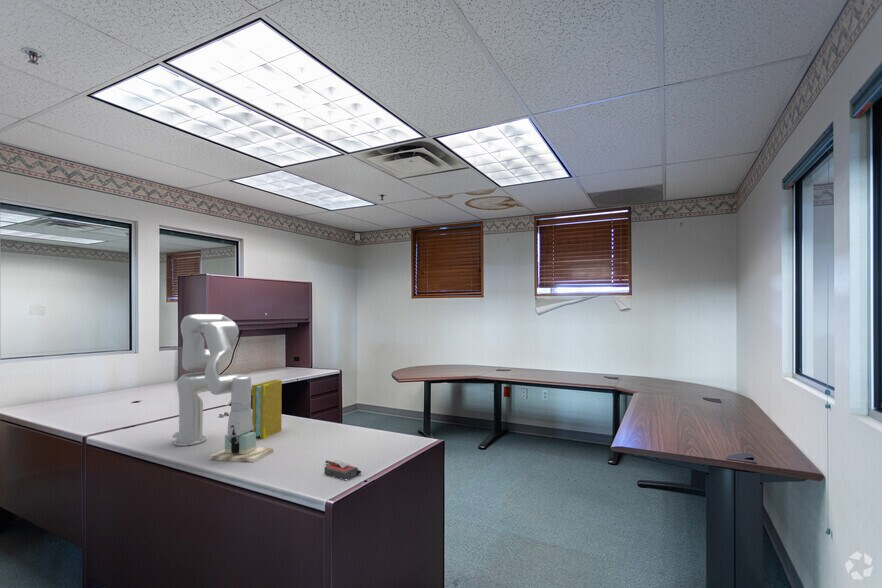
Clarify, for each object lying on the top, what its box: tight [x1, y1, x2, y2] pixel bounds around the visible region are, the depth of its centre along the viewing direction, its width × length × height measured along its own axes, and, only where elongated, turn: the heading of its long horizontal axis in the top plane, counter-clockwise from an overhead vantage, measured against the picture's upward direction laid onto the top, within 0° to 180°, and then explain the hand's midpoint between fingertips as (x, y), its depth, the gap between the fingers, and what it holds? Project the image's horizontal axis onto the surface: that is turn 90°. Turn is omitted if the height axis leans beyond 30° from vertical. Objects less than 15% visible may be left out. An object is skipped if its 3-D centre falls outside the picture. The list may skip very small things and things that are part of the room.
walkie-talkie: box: [323, 459, 362, 480], centre depth 152 cm, size 9×4×20 cm
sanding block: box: [224, 432, 257, 454], centre depth 172 cm, size 10×6×7 cm, turn 78°
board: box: [209, 446, 274, 463], centre depth 172 cm, size 20×13×2 cm, turn 78°
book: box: [251, 379, 283, 440], centre depth 205 cm, size 17×7×25 cm, turn 168°
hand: (240, 449), depth 172 cm, fingers closed on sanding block, 6 cm apart
